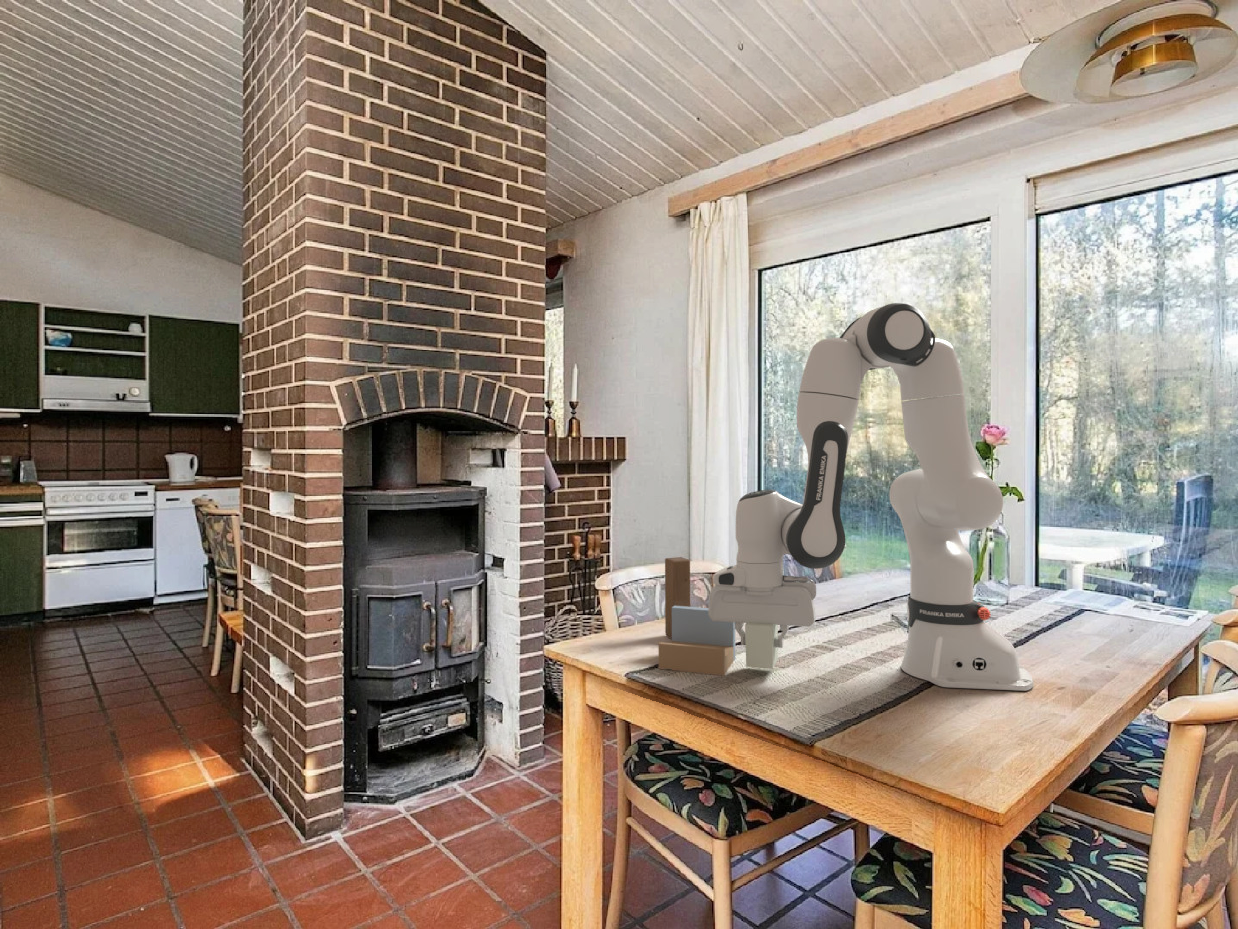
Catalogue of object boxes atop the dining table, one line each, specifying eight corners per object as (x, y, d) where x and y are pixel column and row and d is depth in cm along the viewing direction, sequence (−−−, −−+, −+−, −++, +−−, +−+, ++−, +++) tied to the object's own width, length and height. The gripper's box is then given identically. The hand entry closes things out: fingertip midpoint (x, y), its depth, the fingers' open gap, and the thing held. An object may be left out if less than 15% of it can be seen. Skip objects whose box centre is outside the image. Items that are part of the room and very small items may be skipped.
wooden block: (700, 643, 159) (700, 562, 159) (682, 646, 158) (681, 564, 157) (682, 633, 168) (681, 556, 167) (664, 635, 166) (664, 558, 165)
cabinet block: (778, 657, 141) (777, 611, 141) (772, 668, 135) (771, 620, 135) (752, 655, 143) (751, 610, 143) (746, 666, 137) (744, 618, 136)
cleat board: (735, 658, 148) (735, 610, 148) (723, 675, 138) (723, 623, 137) (674, 652, 153) (674, 605, 152) (658, 668, 142) (658, 618, 142)
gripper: (817, 573, 138) (819, 645, 138) (712, 570, 145) (714, 638, 145) (814, 580, 132) (816, 654, 132) (704, 576, 139) (707, 646, 140)
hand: (762, 646), depth 139 cm, fingers closed on cabinet block, 5 cm apart
